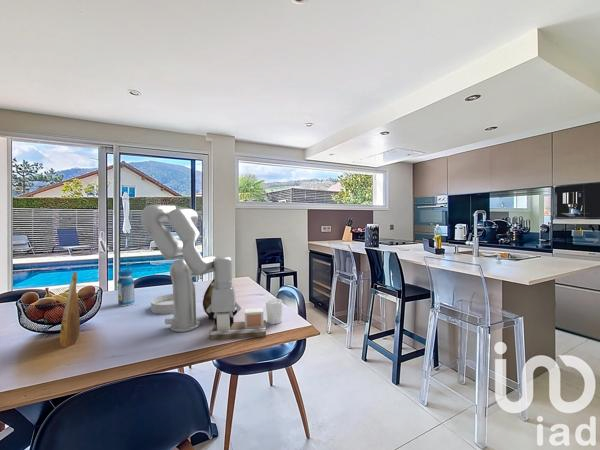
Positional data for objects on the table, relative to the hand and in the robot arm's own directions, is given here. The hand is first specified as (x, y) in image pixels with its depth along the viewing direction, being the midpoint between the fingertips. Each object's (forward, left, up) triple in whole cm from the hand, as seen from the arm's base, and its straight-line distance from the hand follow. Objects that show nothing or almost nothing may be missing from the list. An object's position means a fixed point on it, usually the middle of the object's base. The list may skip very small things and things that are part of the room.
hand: (224, 325), depth 127 cm
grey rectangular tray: (+7, -1, -3) cm, 7 cm away
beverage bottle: (-63, +50, -3) cm, 80 cm away
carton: (+13, 0, -1) cm, 13 cm away
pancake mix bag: (-63, +2, -3) cm, 63 cm away
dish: (-34, +40, -4) cm, 52 cm away
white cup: (+22, +9, -3) cm, 24 cm away
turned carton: (0, 0, -1) cm, 1 cm away
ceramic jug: (-5, +20, -3) cm, 21 cm away
